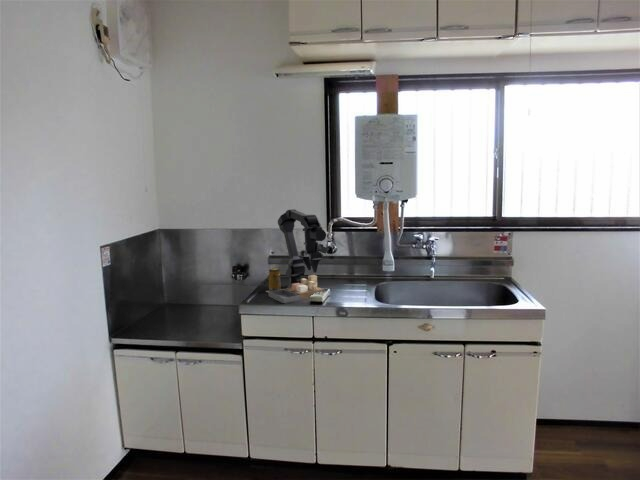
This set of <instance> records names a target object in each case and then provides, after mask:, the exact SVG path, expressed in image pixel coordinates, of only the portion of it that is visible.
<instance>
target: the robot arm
mask: <svg viewBox="0 0 640 480" xmlns="http://www.w3.org/2000/svg"><path fill="white" fill-rule="evenodd" d="M296 222H300V225H301V226H303V228H302V232H303V233H304V234H303V235H304V242H303V244H304V249H301V251H300V255H299V252H298V248H297V244H296V240H295V234H294V229H295V223H296ZM277 225H278V227H279V230H280V231H281V232H282V233H283V235H284V239H285V244H286V247H287V252H288V253H287V254H288V257H289V261H288V263H287V266H288V268H287V269H286V271H285V276H286V277H287V278H289V285H287V288H290V287H292V284H294V283H301V279H302V276H303V277H304V276H305V272H306V268H307V270H308V271H311V270H312V272H313V273H315V274H316V273H317V270H318V266H319V263H320V261H321V260H322V259H323V258H324V254H325V255H327V253H328V252H329V247H327V246H324V244H322V243H319V242H324V241H325V240H326V237H327V233H326V230H324V229H323V227H322V224H321V222H320V221H319V219H318V217H317V215H316V214H305V213H304V212H301V211H299V210H298V209H295V208H294V209H287V210H286V211H285V212H284V213H283V214H281V215H280V216H279V218H278V219H277ZM300 256H301V257H300ZM305 266H306V267H305Z"/></svg>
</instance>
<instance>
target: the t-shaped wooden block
mask: <svg viewBox="0 0 640 480" xmlns="http://www.w3.org/2000/svg"><path fill="white" fill-rule="evenodd" d="M301 284H302V285H306V286H308V289H310V290H313V291H316V288H317V287H318V275H315V274H311V275H308V276H307V278H302V277H301Z"/></svg>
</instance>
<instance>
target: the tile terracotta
mask: <svg viewBox="0 0 640 480" xmlns="http://www.w3.org/2000/svg"><path fill="white" fill-rule="evenodd" d="M298 285H302V284H301V283H294V284H292V289H294V290H297V286H298Z"/></svg>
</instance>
